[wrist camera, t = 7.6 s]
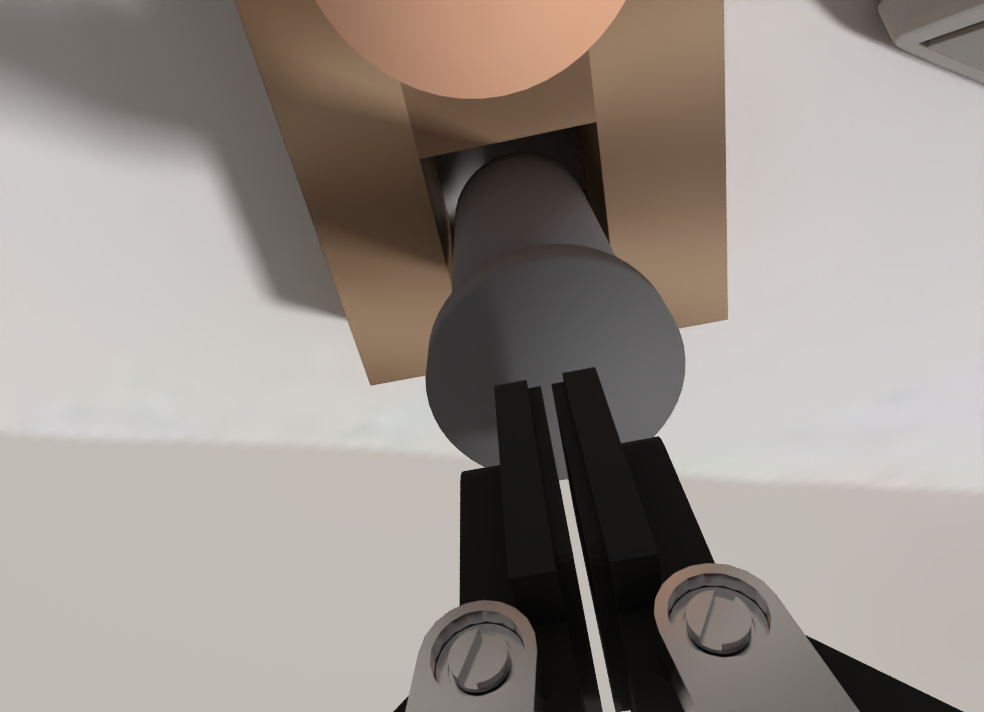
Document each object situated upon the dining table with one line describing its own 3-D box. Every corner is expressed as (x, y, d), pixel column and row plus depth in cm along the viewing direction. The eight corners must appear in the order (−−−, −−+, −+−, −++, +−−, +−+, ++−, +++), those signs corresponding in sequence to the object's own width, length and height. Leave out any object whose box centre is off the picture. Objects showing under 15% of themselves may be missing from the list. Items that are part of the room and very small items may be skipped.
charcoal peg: (424, 157, 19) (395, 291, 11) (590, 122, 18) (679, 235, 11) (461, 304, 21) (457, 498, 14) (608, 276, 21) (690, 458, 13)
